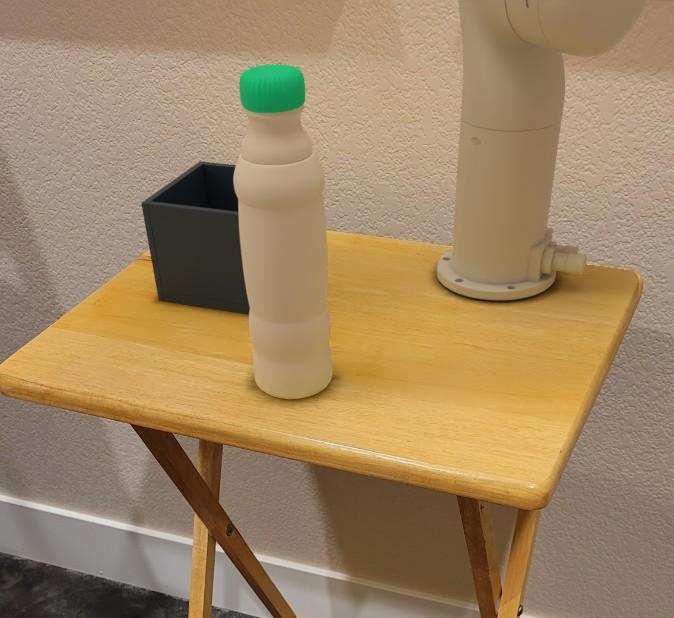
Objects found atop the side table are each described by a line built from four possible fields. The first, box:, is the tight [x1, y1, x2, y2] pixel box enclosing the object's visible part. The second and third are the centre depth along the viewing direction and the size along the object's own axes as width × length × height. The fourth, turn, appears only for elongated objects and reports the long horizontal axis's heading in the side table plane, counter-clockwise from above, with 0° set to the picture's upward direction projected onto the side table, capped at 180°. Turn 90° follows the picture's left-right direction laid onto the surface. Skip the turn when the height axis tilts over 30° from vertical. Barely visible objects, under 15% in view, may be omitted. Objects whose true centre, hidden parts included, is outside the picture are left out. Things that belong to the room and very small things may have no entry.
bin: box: [140, 160, 250, 315], centre depth 92 cm, size 12×12×10 cm
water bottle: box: [233, 63, 333, 400], centre depth 71 cm, size 7×7×25 cm
